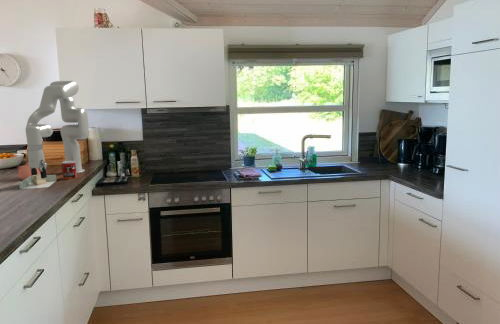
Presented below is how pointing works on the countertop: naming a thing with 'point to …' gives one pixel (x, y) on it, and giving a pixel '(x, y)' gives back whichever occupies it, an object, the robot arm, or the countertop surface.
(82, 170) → the robot arm
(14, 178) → the countertop surface
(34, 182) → the cube
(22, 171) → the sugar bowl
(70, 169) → the canned food
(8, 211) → the countertop surface
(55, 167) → the countertop surface
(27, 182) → the arena
